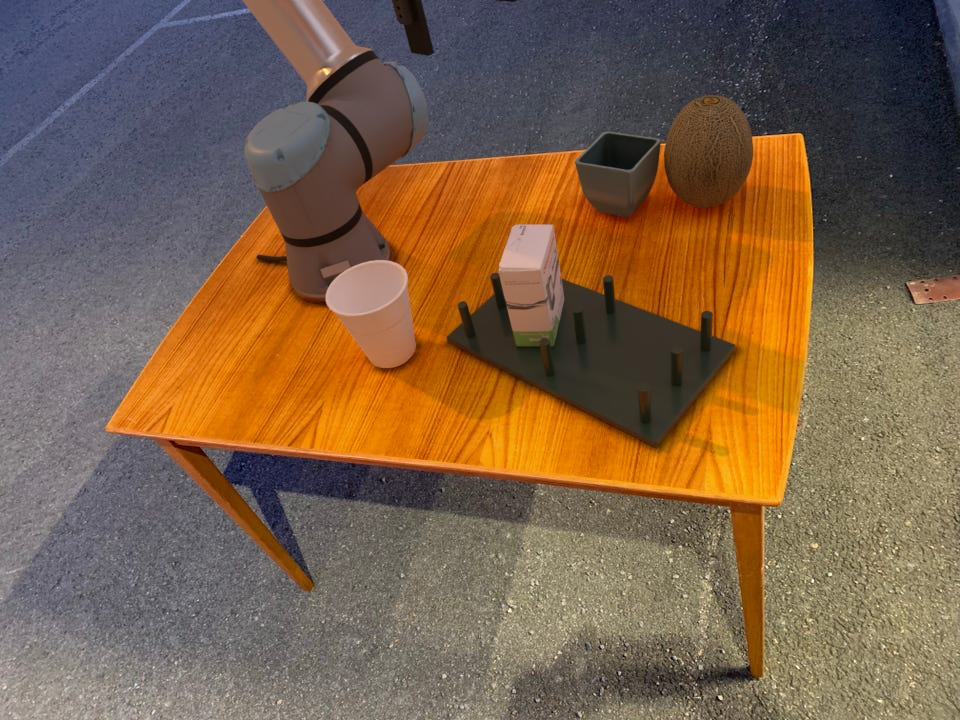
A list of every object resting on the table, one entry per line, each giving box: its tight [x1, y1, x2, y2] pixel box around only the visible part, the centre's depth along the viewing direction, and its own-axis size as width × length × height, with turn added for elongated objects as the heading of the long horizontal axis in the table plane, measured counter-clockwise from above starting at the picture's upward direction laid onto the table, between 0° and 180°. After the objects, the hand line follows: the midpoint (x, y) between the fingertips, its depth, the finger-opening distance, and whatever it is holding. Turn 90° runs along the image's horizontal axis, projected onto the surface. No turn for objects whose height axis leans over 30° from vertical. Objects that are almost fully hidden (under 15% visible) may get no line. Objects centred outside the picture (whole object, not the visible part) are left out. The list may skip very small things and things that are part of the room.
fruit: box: [663, 94, 754, 209], centre depth 92 cm, size 11×11×15 cm
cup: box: [325, 260, 417, 369], centre depth 84 cm, size 10×10×11 cm
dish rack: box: [445, 272, 737, 449], centre depth 80 cm, size 30×16×6 cm, turn 48°
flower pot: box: [574, 131, 662, 218], centre depth 97 cm, size 9×9×9 cm
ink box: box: [497, 223, 564, 346], centre depth 81 cm, size 9×5×12 cm, turn 167°
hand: (466, 25), depth 74 cm, fingers open, 13 cm apart
